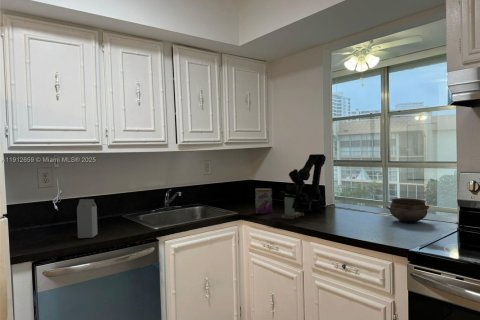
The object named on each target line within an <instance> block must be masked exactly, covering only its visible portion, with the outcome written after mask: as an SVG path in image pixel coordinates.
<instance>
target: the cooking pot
mask: <svg viewBox="0 0 480 320" xmlns="http://www.w3.org/2000/svg"><path fill="white" fill-rule="evenodd" d="M390 200H391V203H390V206H388V207H386V209H387V210H389V213H390V214H391V215H392V216H393V217H394V218H395V219H397V220H398V221H400V222H401V223H404V222H405V223H404V224H415V223H417V222H419V221H421V220H423V219H425V218H426V216H427V215H428V210H429V209H430V205H427V204H426V202H427V201H426V200H424V199H421V198H419V199H418V198H412V197H411V198H410V197H407V198H405V197H400V198H399V197H397V198H395V197H394V198H391V199H390Z"/></svg>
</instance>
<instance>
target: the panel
mask: <svg viewBox="0 0 480 320" xmlns="http://www.w3.org/2000/svg"><path fill="white" fill-rule="evenodd" d="M294 201H295V198H290V197H285V208H284V215H289V216H294V212H295V208H293V209H292V206H293V203H294Z"/></svg>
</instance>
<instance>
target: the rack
mask: <svg viewBox="0 0 480 320" xmlns="http://www.w3.org/2000/svg"><path fill="white" fill-rule="evenodd" d="M294 213H300V214H301V216H302V217H304V216H305V213H304V212H299V211H294ZM301 216H300V217H301ZM281 218H282V219H288V220H294V219H298V218H299V217H298V215H294V216H289V215H285V214H281Z"/></svg>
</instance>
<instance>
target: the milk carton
mask: <svg viewBox="0 0 480 320" xmlns="http://www.w3.org/2000/svg"><path fill="white" fill-rule="evenodd" d="M78 201H79V202H78V204H77V207H76V216H77V218H76V220H77V221H76V222H77V238H78V239H87V238H88V239H91V238H94V237H95V236H97V235H98V213H97V212H98V211H97V210H98V207H97V203H96V202H95V199H94V198H91V199H90V198H86V199H82V198H81V199H79V200H78Z"/></svg>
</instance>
